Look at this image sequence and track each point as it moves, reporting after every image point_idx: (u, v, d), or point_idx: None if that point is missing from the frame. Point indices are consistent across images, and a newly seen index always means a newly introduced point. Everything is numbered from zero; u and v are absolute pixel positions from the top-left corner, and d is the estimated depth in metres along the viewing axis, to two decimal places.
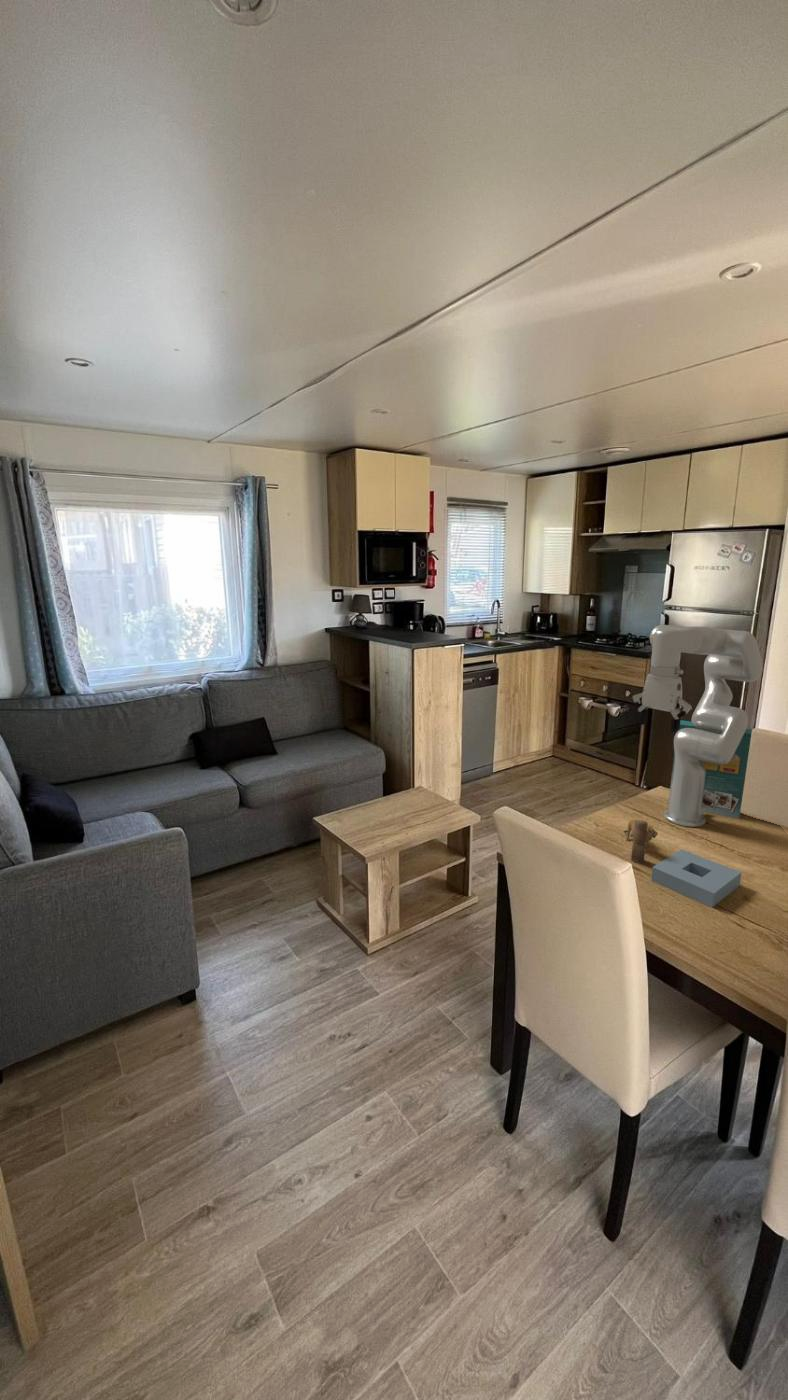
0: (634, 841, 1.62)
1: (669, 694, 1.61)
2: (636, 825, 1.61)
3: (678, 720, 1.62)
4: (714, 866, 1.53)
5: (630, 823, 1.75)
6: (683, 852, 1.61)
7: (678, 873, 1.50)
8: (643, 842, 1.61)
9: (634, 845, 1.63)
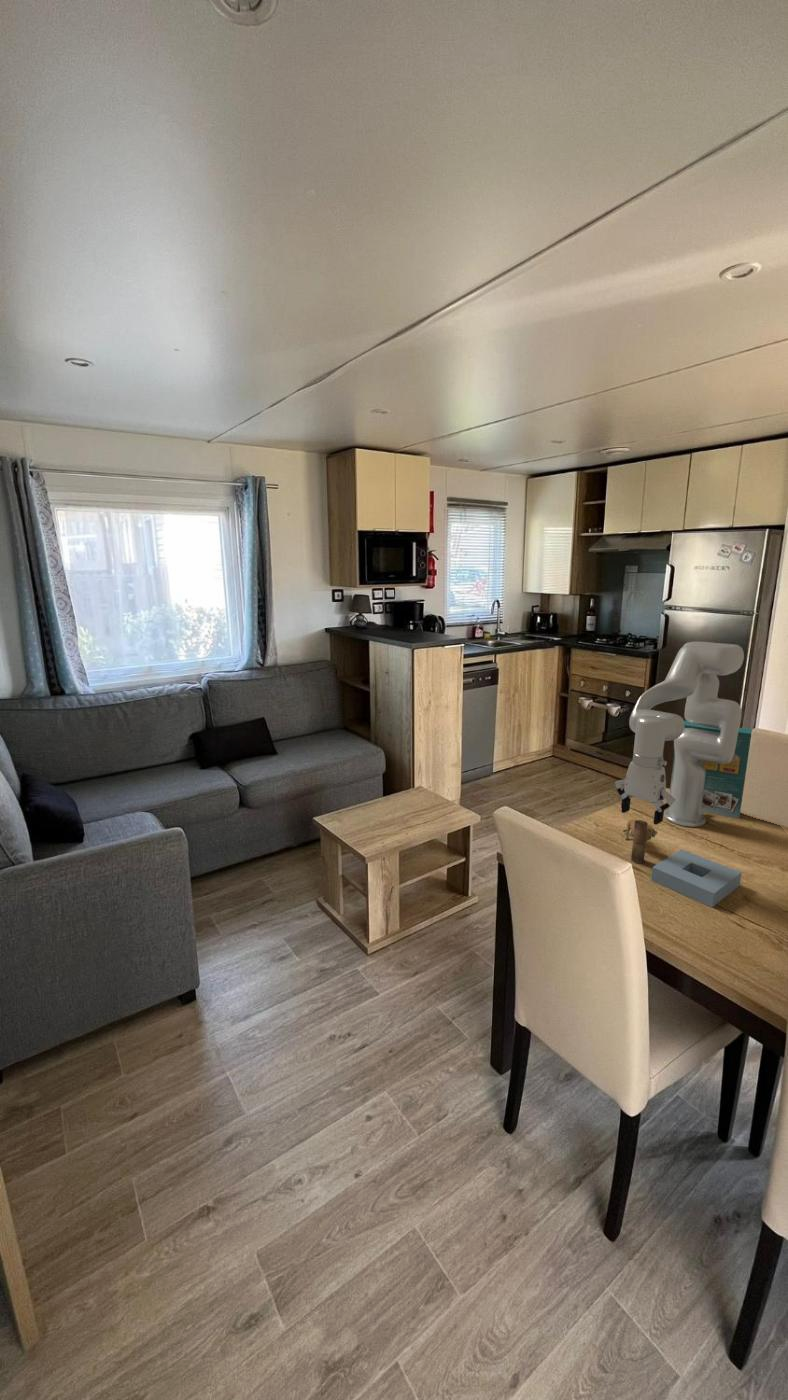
0: (634, 841, 1.62)
1: (652, 785, 1.54)
2: (636, 825, 1.61)
3: (661, 812, 1.55)
4: (714, 866, 1.53)
5: (629, 822, 1.75)
6: (683, 852, 1.61)
7: (678, 873, 1.50)
8: (643, 842, 1.61)
9: (634, 845, 1.63)
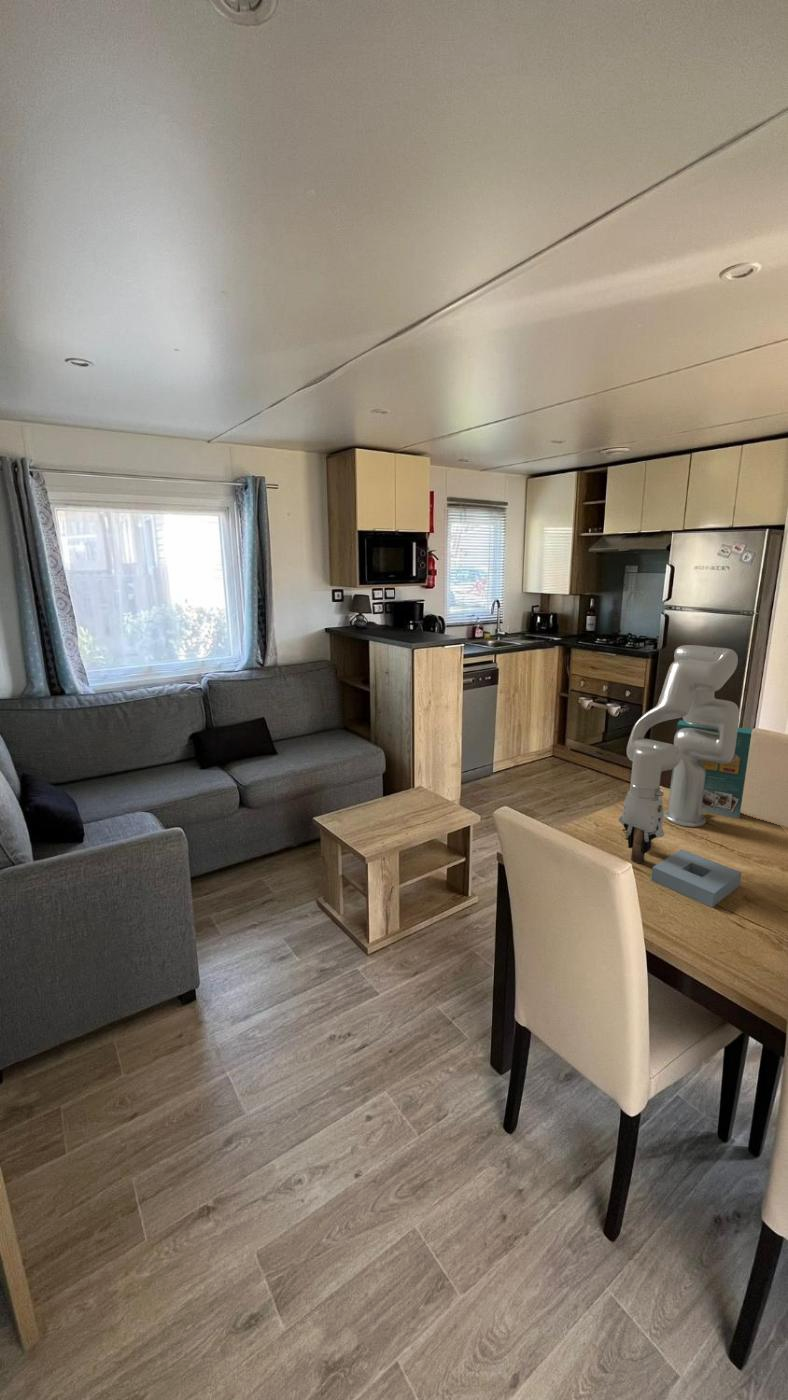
0: (634, 841, 1.62)
1: (649, 816, 1.57)
2: None
3: (649, 842, 1.60)
4: (714, 866, 1.53)
5: None
6: (683, 852, 1.61)
7: (678, 873, 1.50)
8: None
9: (634, 845, 1.63)
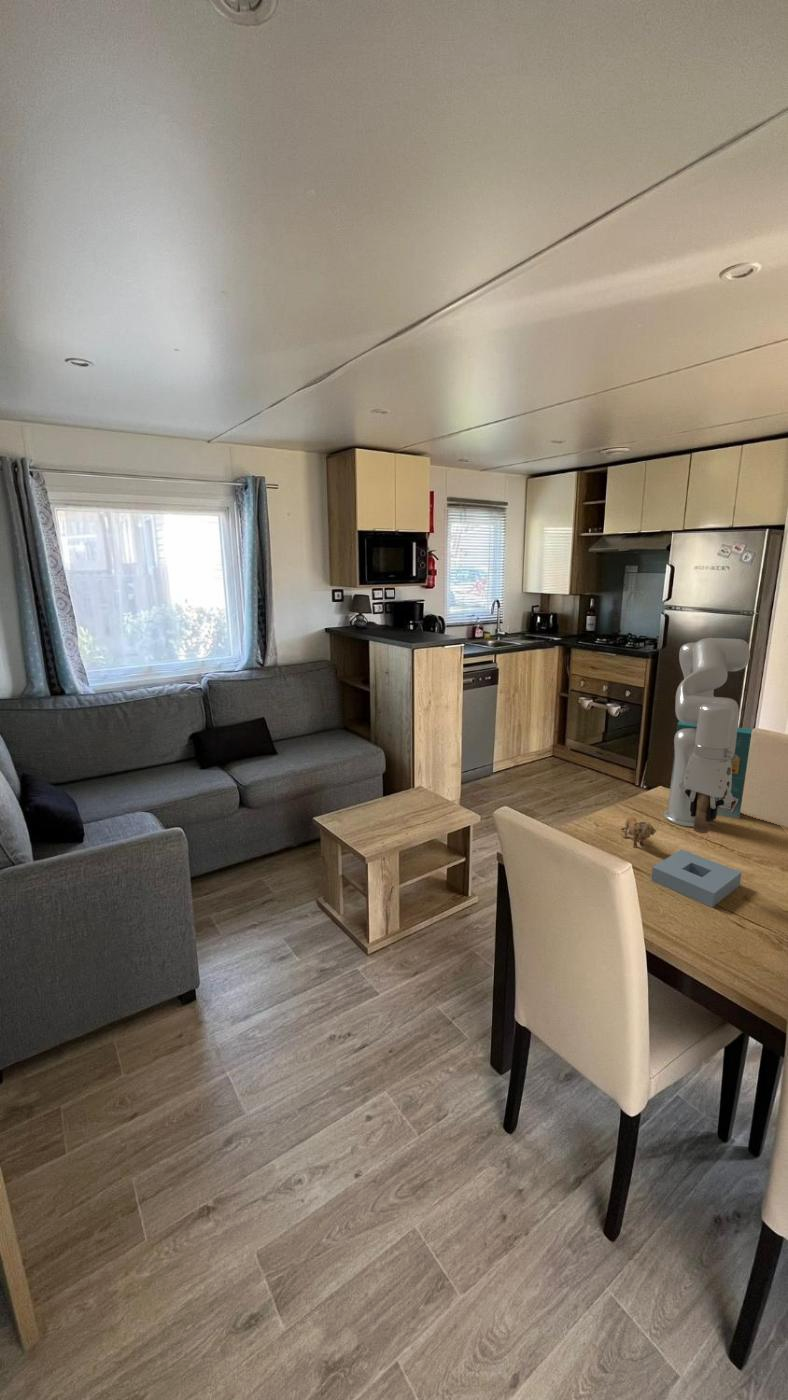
0: (698, 808, 1.47)
1: (717, 779, 1.41)
2: None
3: (715, 809, 1.45)
4: (714, 866, 1.53)
5: (628, 821, 1.77)
6: (683, 852, 1.61)
7: (678, 873, 1.50)
8: None
9: (698, 813, 1.47)
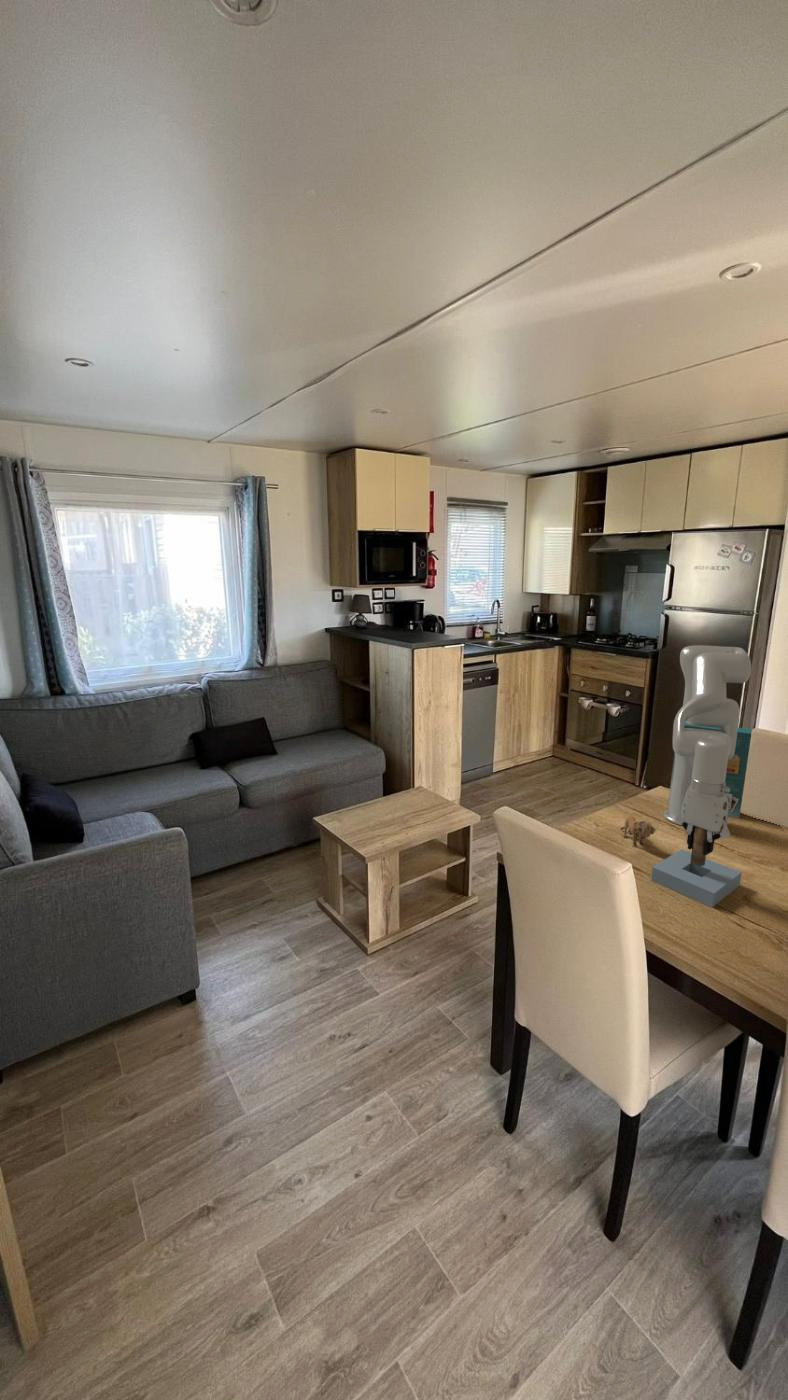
0: (695, 841, 1.49)
1: (714, 814, 1.43)
2: None
3: (712, 842, 1.47)
4: (714, 866, 1.53)
5: (627, 820, 1.77)
6: (683, 852, 1.61)
7: (678, 873, 1.50)
8: None
9: (695, 846, 1.49)
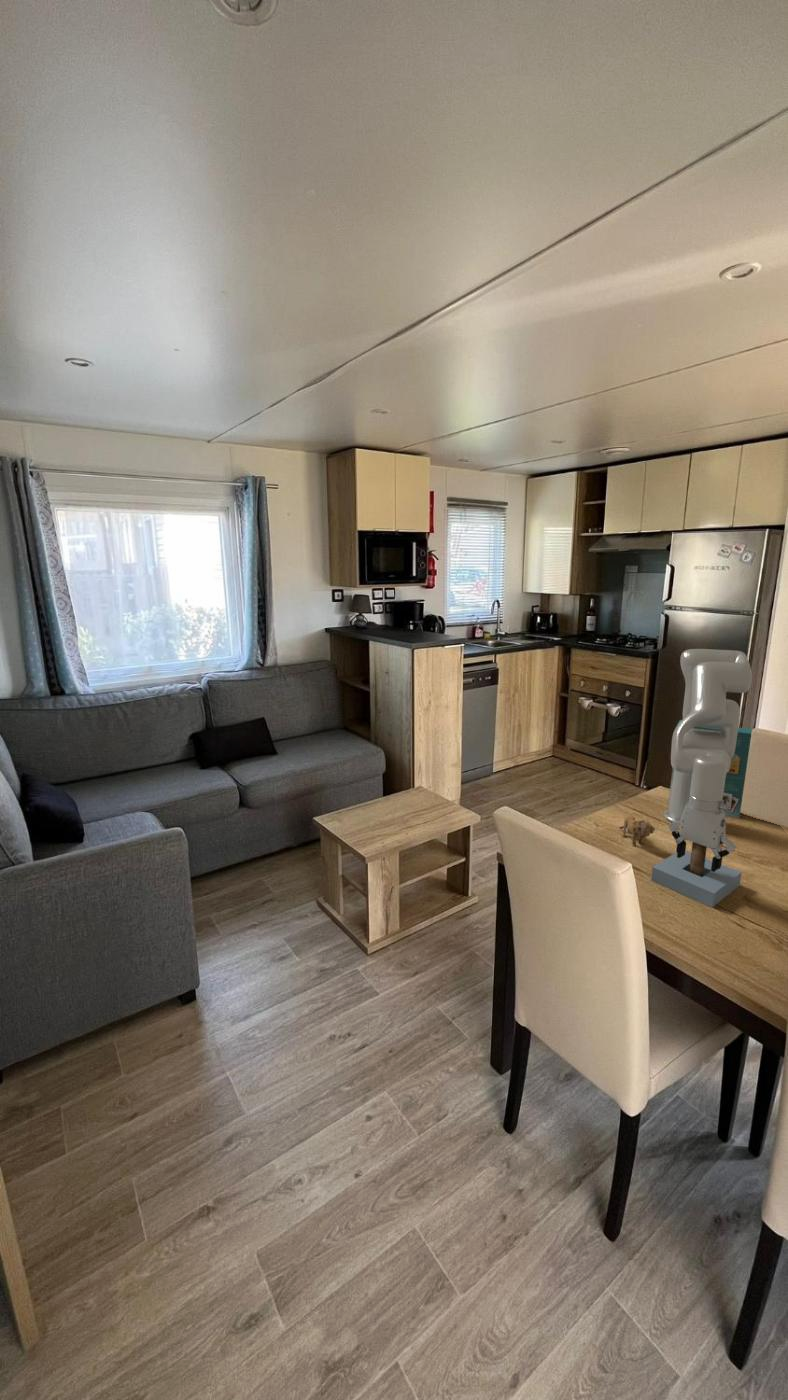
0: (692, 862, 1.51)
1: (711, 830, 1.45)
2: (694, 845, 1.49)
3: (720, 859, 1.46)
4: None
5: (627, 819, 1.77)
6: None
7: (678, 873, 1.50)
8: (702, 863, 1.49)
9: (692, 867, 1.51)
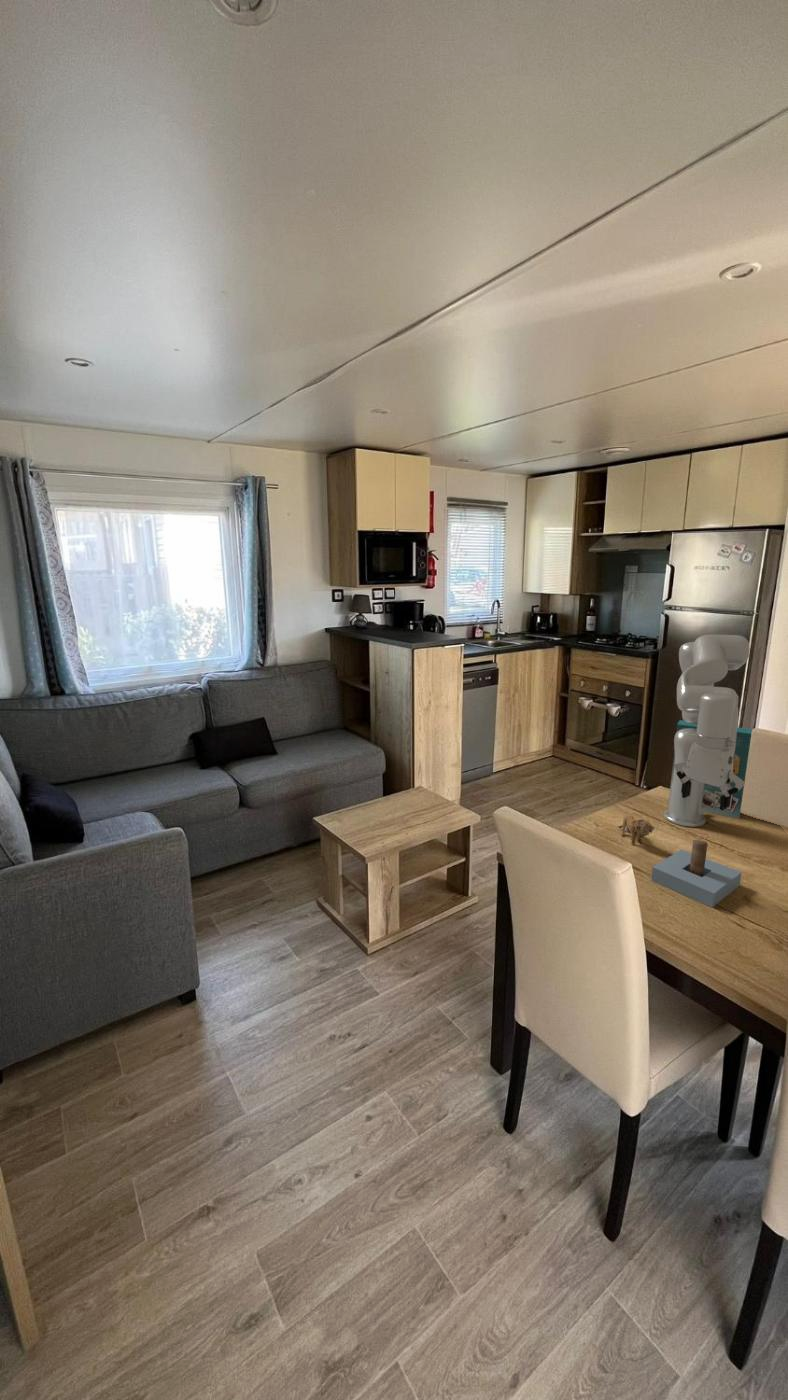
0: (692, 862, 1.51)
1: (719, 768, 1.42)
2: (695, 845, 1.49)
3: (729, 797, 1.43)
4: (714, 866, 1.53)
5: (626, 819, 1.78)
6: (683, 852, 1.61)
7: (678, 873, 1.50)
8: (702, 863, 1.49)
9: (692, 867, 1.51)
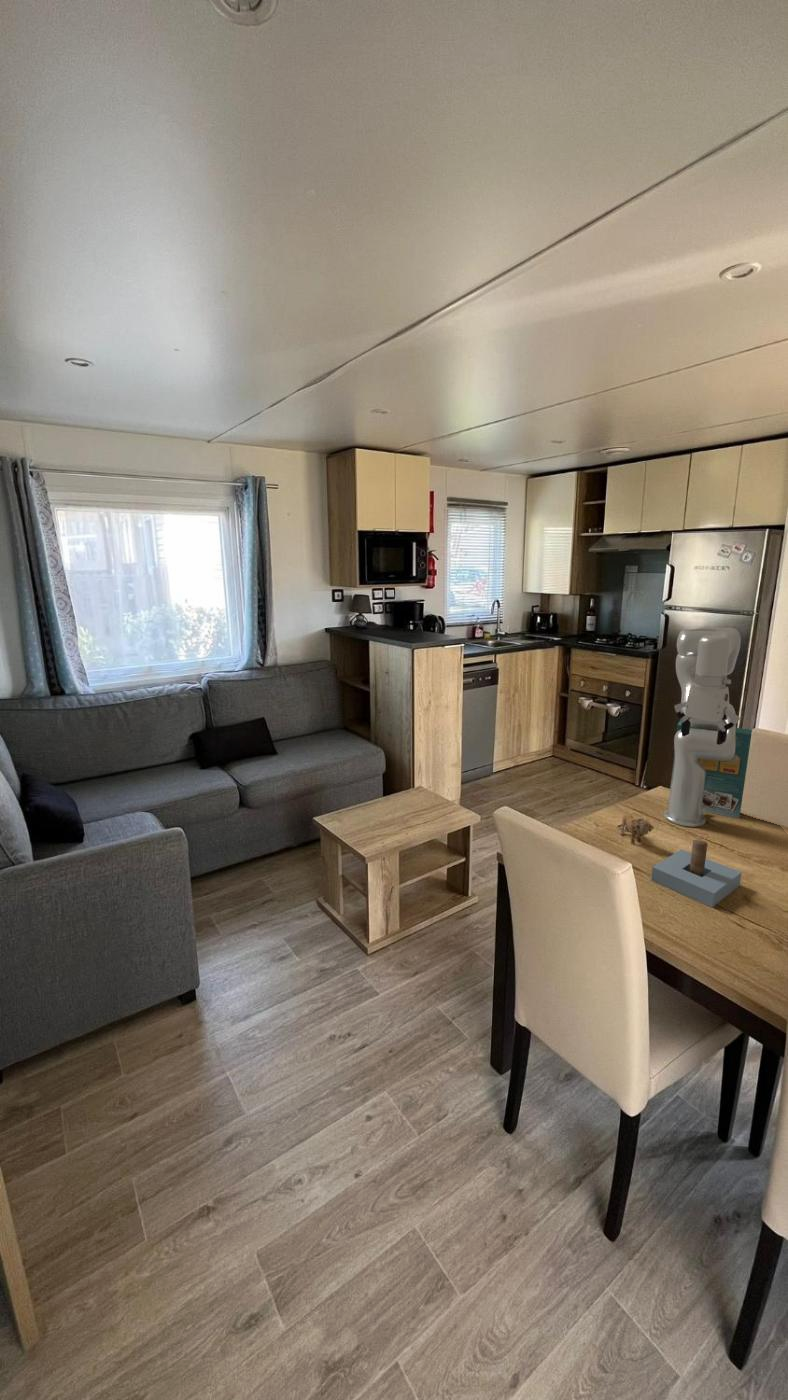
0: (692, 862, 1.51)
1: (716, 705, 1.53)
2: (695, 845, 1.49)
3: (725, 732, 1.54)
4: (714, 866, 1.53)
5: (625, 818, 1.79)
6: (683, 852, 1.61)
7: (678, 873, 1.50)
8: (702, 863, 1.49)
9: (692, 867, 1.51)
